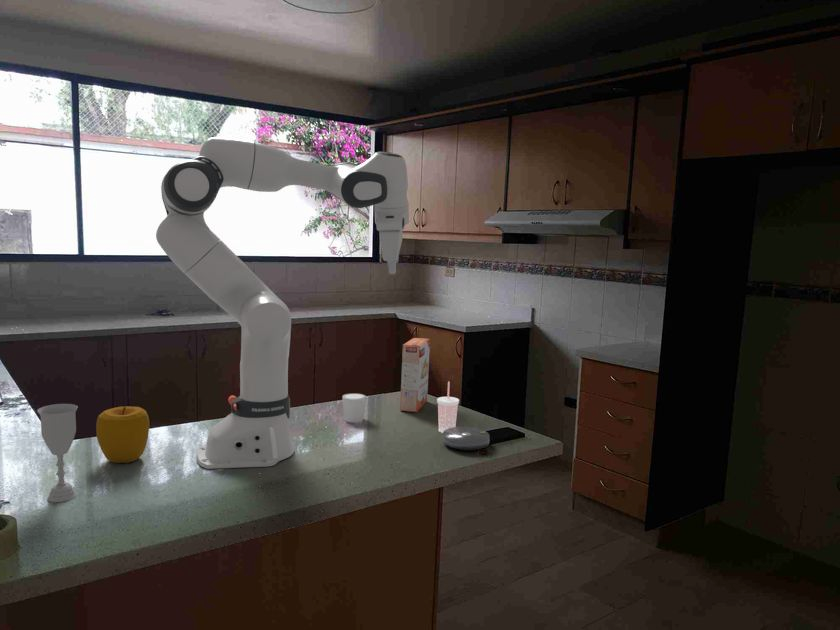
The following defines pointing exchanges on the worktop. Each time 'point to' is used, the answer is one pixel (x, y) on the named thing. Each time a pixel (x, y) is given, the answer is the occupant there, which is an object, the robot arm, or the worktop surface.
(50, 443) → the chalice
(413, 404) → the cracker box
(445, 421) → the beverage cup
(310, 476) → the worktop surface
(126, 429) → the apple
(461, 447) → the turntable
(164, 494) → the worktop surface
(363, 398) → the white short cylinder
